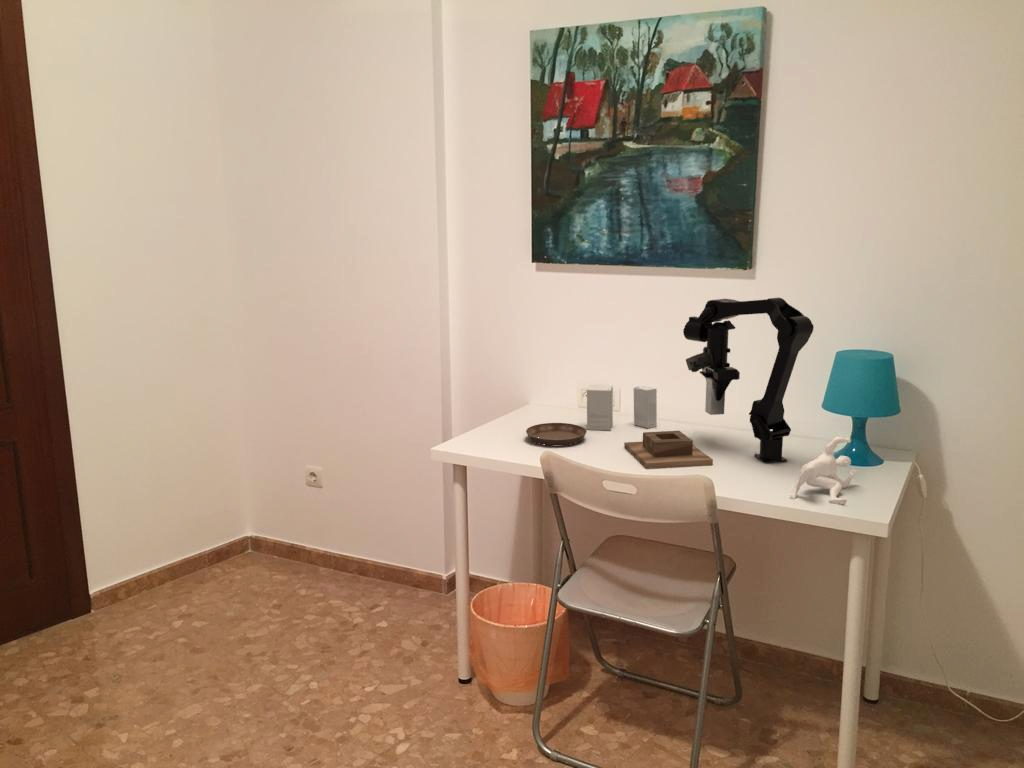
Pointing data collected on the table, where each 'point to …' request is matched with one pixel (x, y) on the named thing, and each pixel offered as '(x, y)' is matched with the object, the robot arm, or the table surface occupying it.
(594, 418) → the supplement box
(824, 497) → the table surface
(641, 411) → the skincare box
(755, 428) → the robot arm
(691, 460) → the socket block
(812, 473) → the person figurine
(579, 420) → the table surface
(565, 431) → the plant saucer
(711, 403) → the steel peg
